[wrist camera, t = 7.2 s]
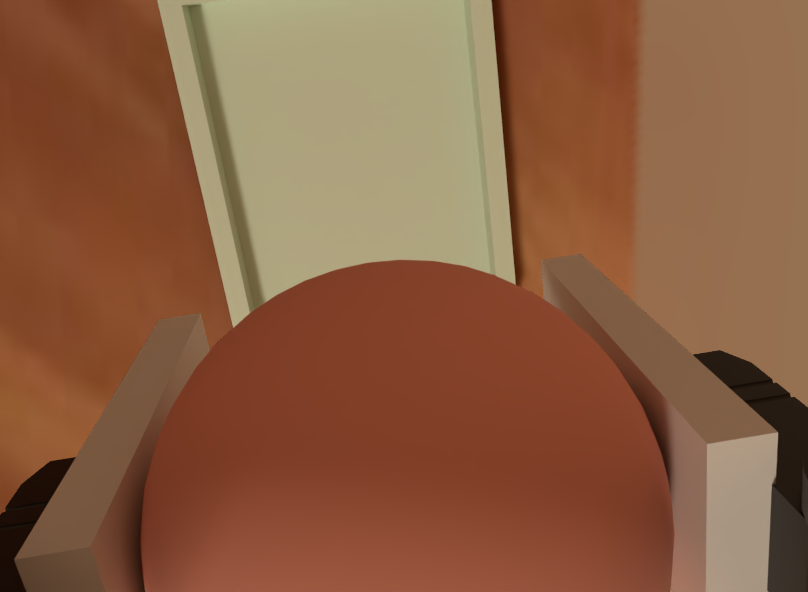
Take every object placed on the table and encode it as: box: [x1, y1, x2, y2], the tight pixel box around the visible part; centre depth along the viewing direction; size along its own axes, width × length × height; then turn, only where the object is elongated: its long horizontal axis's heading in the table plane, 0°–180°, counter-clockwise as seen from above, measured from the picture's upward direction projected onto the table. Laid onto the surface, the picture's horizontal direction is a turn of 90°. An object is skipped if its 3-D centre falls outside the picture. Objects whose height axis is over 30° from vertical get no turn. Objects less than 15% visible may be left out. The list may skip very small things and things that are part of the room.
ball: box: [140, 260, 675, 592], centre depth 9 cm, size 6×6×6 cm
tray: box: [157, 0, 516, 328], centre depth 30 cm, size 16×12×2 cm
